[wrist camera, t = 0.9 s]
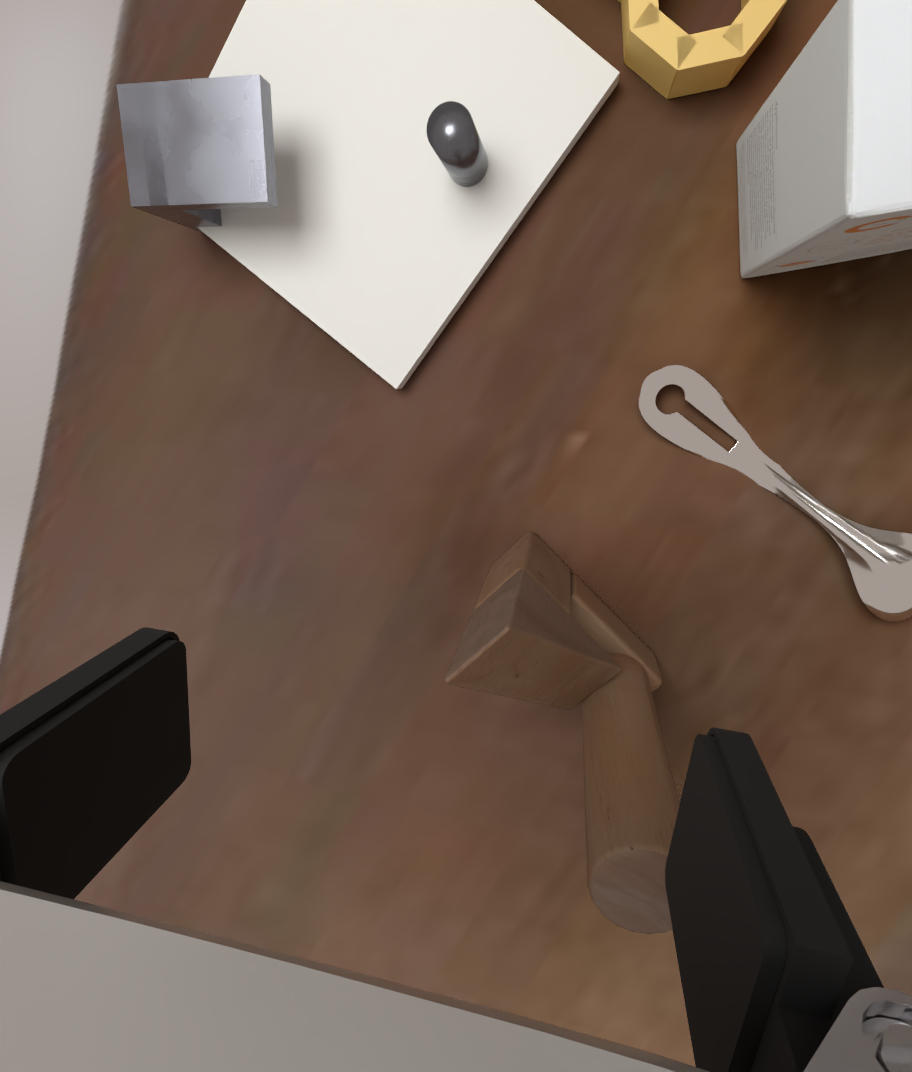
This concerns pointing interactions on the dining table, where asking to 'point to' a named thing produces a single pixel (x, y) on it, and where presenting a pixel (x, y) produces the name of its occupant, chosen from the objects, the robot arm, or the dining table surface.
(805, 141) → the small box
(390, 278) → the board
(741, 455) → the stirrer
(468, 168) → the pin
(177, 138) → the block
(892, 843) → the dining table surface
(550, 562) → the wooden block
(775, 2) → the link
